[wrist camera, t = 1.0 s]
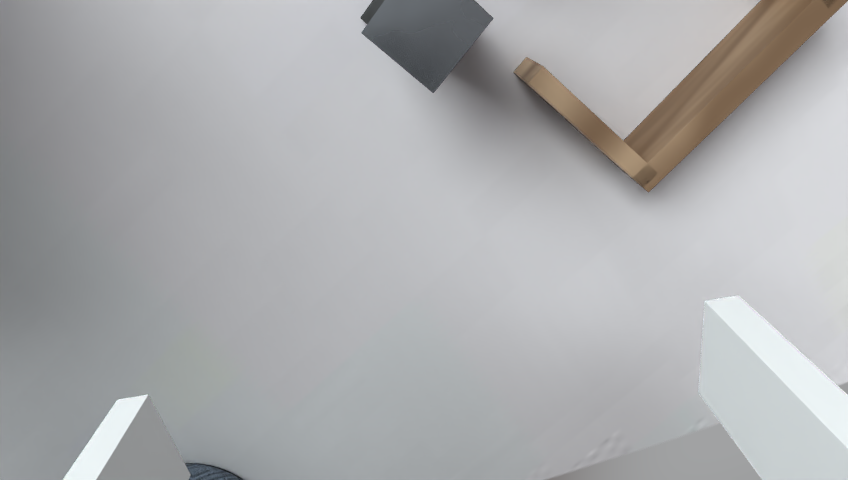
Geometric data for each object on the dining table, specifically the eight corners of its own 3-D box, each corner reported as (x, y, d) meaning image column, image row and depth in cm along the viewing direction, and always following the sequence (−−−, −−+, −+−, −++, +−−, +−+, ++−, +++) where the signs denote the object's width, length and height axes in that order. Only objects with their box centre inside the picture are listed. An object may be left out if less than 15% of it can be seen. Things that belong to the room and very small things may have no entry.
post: (361, 17, 32) (333, 36, 20) (412, -55, 31) (417, -85, 18) (424, 70, 34) (435, 120, 21) (476, 4, 32) (522, 15, 20)
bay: (513, 72, 34) (528, 83, 30) (690, -137, 30) (736, -157, 25) (621, 170, 37) (648, 192, 33) (797, -6, 33) (852, -5, 29)
